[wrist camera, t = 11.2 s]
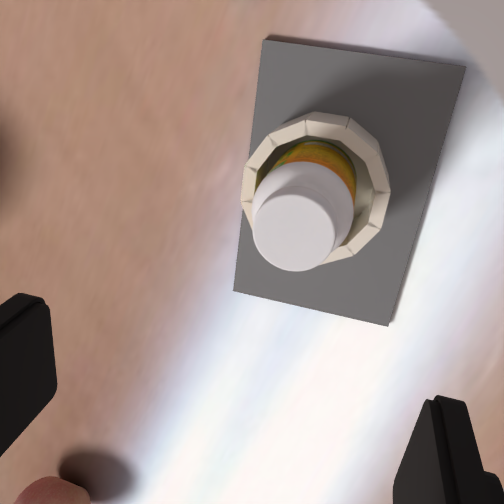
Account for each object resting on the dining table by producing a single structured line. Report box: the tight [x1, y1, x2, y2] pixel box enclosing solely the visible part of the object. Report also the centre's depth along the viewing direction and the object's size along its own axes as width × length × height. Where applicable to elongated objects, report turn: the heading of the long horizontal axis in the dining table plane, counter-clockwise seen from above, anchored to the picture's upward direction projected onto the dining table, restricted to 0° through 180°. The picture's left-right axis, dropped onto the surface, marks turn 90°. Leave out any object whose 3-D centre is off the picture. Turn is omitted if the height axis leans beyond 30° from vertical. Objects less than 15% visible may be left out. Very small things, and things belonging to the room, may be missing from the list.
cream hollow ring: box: [240, 111, 391, 265], centre depth 29 cm, size 9×9×4 cm
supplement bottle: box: [251, 139, 357, 271], centre depth 25 cm, size 5×5×10 cm
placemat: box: [233, 40, 466, 327], centre depth 31 cm, size 18×12×1 cm, turn 173°
